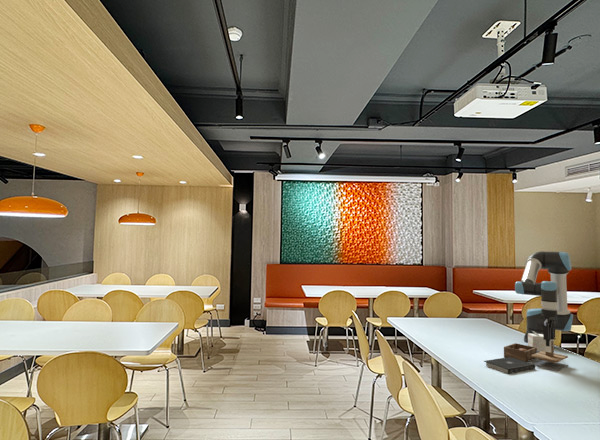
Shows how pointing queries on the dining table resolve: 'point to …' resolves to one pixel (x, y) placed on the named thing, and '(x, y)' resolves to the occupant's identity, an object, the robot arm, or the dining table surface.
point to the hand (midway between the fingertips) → (549, 351)
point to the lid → (549, 355)
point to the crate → (520, 352)
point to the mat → (550, 365)
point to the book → (509, 365)
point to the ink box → (536, 341)
